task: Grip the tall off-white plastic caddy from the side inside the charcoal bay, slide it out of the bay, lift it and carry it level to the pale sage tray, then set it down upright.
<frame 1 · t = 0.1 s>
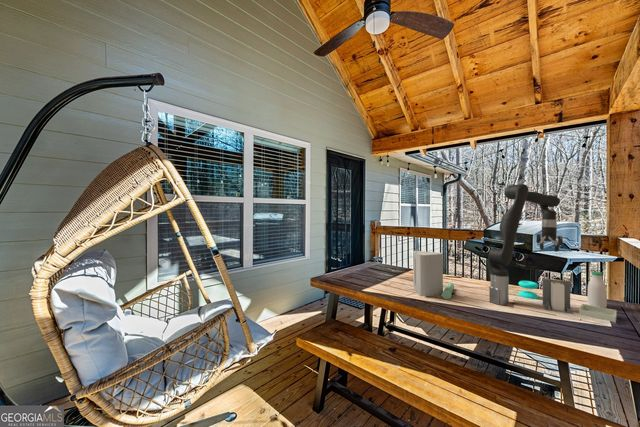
hand: (549, 250, 177), 29 cm above the table, tool pointing down, fingers open, 8 cm apart
waste caddy: (557, 308, 150), point 1 cm above the table, touching printer bay
waste tray: (597, 316, 141), on the table
printer bay: (557, 310, 150), on the table
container: (448, 293, 183), on the table
milk bottle: (596, 306, 155), on the table
tall grey box: (425, 293, 183), on the table
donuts: (528, 297, 171), on the table
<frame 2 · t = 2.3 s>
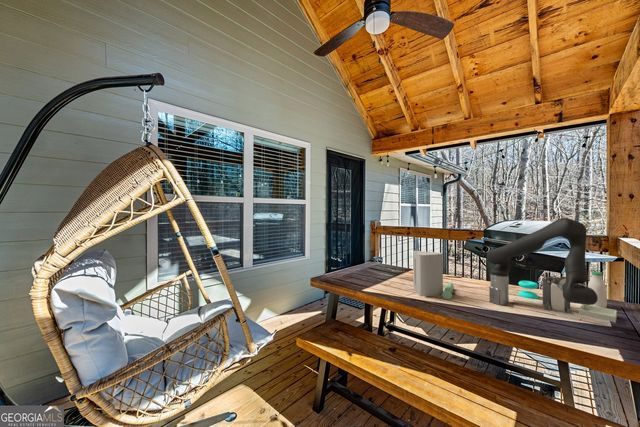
hand: (561, 278, 141), 20 cm above the table, tool horizontal, fingers open, 8 cm apart
nothing on the table moved.
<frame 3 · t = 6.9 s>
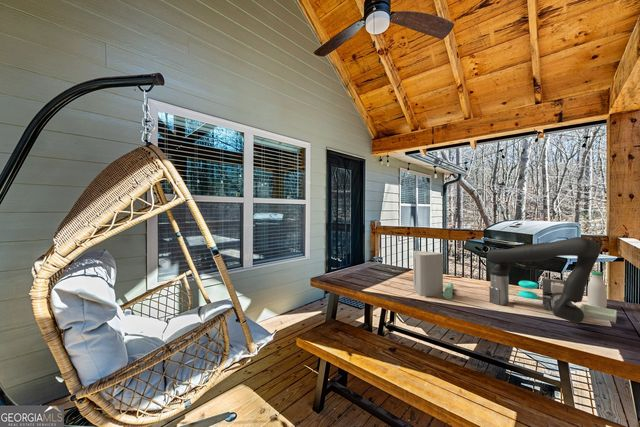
hand: (556, 293, 152), 9 cm above the table, tool horizontal, fingers closed on waste caddy, 5 cm apart
waste caddy: (557, 308, 150), point 1 cm above the table, touching gripper, printer bay
everything else where it was.
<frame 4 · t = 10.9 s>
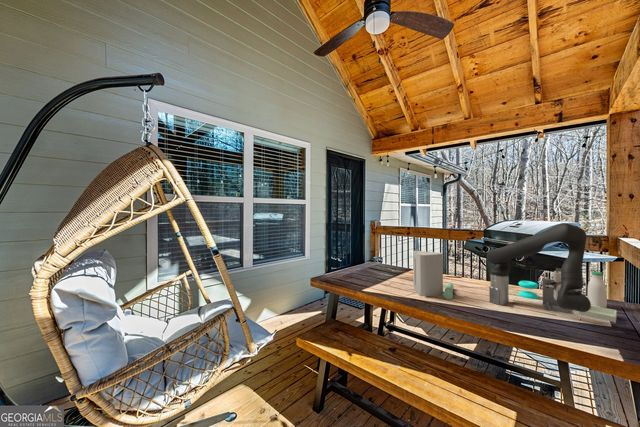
hand: (560, 282, 141), 18 cm above the table, tool horizontal, fingers closed on waste caddy, 5 cm apart
waste caddy: (560, 299, 139), point 10 cm above the table, touching gripper
everything else where it was.
when the fingers open (10 cm above the table, at t = 15.2 s): waste caddy stays where it is, resting on waste tray.
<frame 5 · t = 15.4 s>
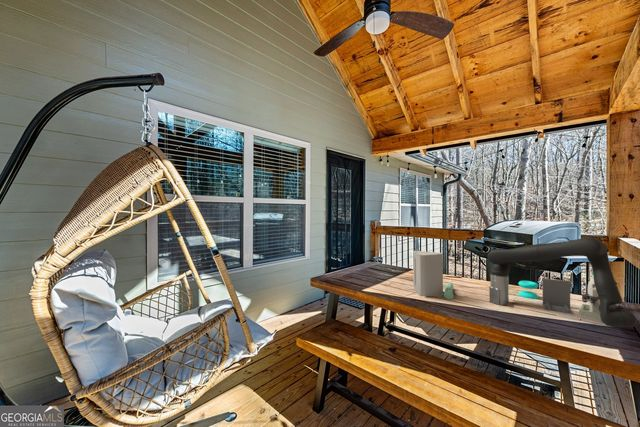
hand: (596, 296, 142), 10 cm above the table, tool horizontal, fingers open, 6 cm apart
waste caddy: (597, 314, 141), point 1 cm above the table, touching waste tray
everything else where it was.
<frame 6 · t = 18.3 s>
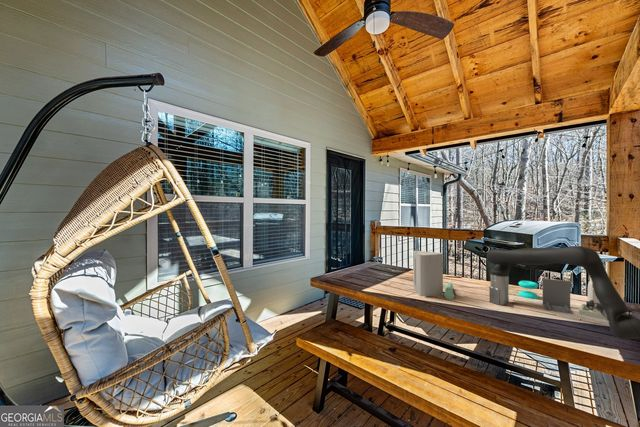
hand: (603, 303, 131), 10 cm above the table, tool horizontal, fingers open, 8 cm apart
nothing on the table moved.
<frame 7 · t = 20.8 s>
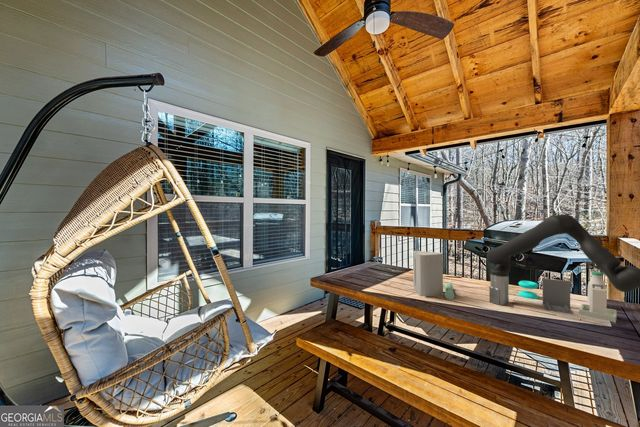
hand: (604, 264, 131), 30 cm above the table, tool horizontal, fingers open, 8 cm apart
nothing on the table moved.
at the end: waste caddy inside the target area on the waste tray (0.1 cm from its centre), point 1.0 cm above the waste tray's base; waste caddy tilted 0°; the gripper is holding nothing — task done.
